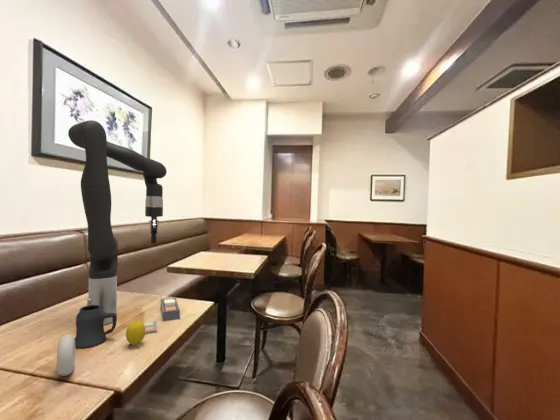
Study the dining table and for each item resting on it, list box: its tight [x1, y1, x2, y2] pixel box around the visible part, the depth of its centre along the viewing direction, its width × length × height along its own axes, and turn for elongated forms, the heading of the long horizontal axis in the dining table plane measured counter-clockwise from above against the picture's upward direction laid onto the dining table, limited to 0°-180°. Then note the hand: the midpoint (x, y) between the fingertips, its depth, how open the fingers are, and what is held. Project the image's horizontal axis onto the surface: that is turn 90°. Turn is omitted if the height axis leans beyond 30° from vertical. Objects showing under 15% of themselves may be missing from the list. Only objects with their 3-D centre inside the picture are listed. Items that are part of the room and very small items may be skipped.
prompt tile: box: [142, 320, 158, 335], centre depth 103 cm, size 5×9×1 cm, turn 25°
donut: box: [56, 333, 76, 377], centre depth 75 cm, size 10×3×10 cm, turn 32°
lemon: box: [125, 319, 146, 346], centre depth 91 cm, size 6×6×8 cm
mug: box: [74, 305, 118, 350], centre depth 93 cm, size 12×9×11 cm
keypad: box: [160, 297, 181, 322], centre depth 119 cm, size 6×17×4 cm, turn 25°
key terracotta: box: [165, 306, 177, 311], centre depth 114 cm, size 4×4×2 cm
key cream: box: [164, 299, 175, 307], centre depth 119 cm, size 4×4×2 cm
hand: (153, 243), depth 133 cm, fingers closed
